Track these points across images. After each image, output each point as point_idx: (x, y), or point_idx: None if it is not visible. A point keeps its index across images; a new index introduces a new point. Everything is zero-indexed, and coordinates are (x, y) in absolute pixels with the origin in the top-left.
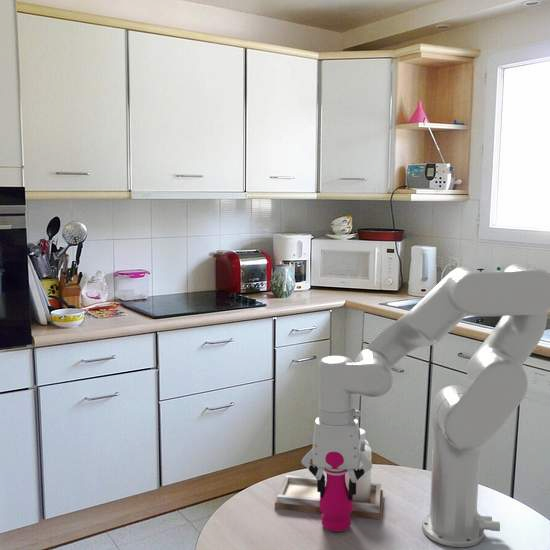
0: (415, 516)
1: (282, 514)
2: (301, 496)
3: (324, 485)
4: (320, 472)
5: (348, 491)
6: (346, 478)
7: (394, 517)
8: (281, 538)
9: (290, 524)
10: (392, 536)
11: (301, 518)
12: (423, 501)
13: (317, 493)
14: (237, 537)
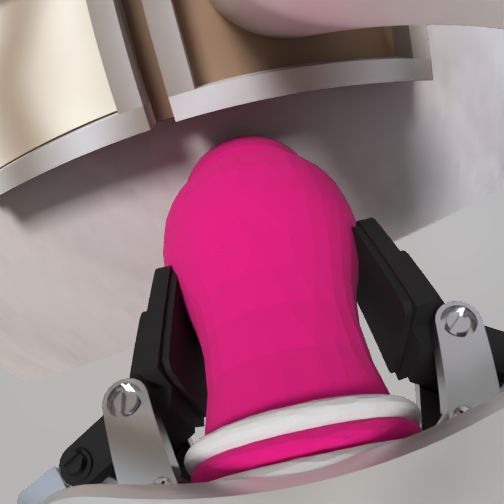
0: (491, 31)
1: (27, 211)
2: (17, 101)
3: (186, 331)
4: (187, 478)
5: (357, 276)
6: (272, 7)
7: (443, 45)
8: (117, 324)
9: (87, 253)
10: (442, 173)
11: (94, 199)
12: None
13: (67, 24)
14: (38, 351)
